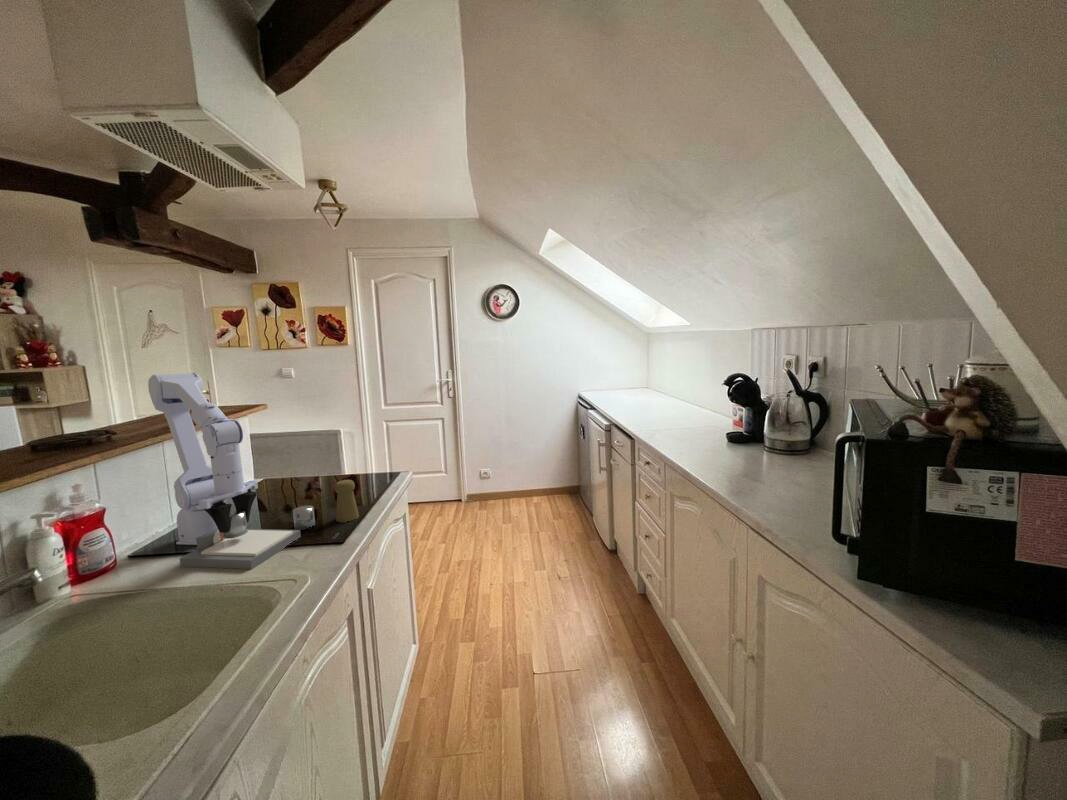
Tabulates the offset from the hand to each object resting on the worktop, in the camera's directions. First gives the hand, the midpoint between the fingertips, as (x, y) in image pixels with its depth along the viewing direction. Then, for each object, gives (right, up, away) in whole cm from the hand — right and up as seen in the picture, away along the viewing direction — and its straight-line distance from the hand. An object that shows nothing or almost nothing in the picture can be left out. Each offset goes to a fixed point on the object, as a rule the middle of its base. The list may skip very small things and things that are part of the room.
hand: (234, 527), depth 102 cm
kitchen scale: (+2, -6, 0) cm, 6 cm away
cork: (+19, -3, +19) cm, 27 cm away
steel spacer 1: (0, -2, 0) cm, 2 cm away
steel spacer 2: (+9, -4, +14) cm, 18 cm away
